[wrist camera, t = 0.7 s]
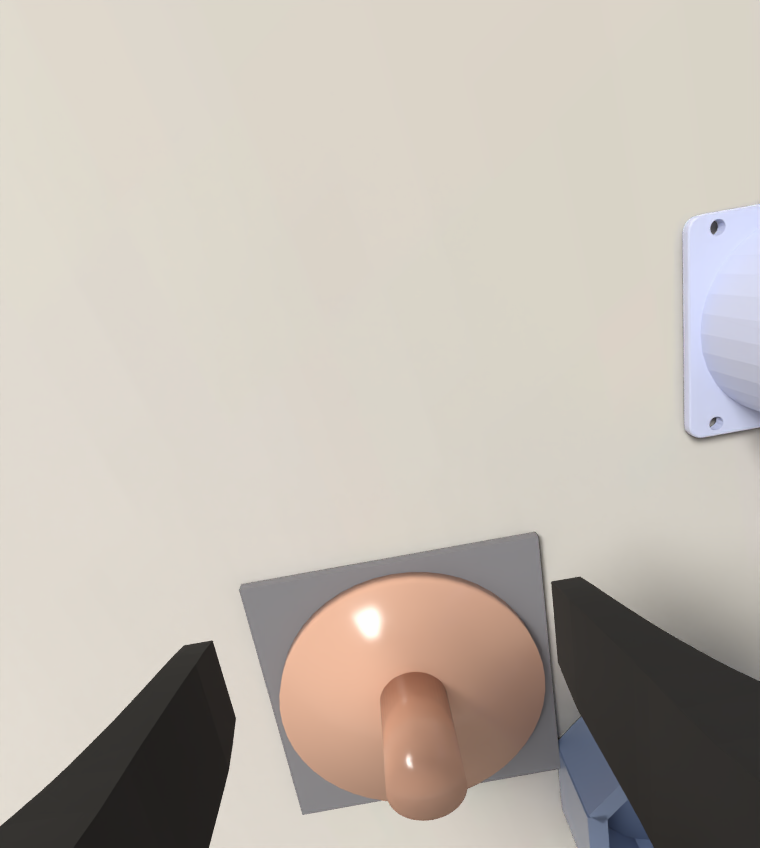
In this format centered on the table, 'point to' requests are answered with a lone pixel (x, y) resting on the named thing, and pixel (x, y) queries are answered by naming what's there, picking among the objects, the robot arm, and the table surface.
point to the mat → (476, 562)
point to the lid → (412, 690)
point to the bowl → (595, 796)
